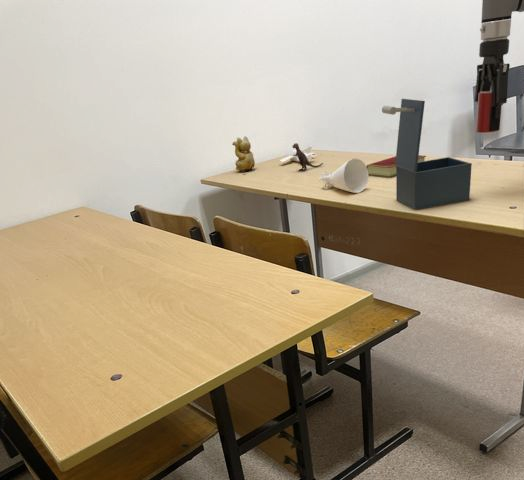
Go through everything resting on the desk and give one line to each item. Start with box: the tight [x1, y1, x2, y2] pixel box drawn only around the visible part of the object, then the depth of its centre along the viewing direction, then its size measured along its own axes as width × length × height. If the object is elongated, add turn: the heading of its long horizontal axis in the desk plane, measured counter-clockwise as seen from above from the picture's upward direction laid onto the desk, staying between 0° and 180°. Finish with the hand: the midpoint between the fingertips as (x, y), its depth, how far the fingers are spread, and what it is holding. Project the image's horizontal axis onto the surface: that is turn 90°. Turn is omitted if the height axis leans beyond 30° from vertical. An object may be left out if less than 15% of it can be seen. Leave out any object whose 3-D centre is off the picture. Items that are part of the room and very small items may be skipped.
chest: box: [395, 156, 473, 211], centre depth 163 cm, size 18×14×11 cm
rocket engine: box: [318, 157, 370, 194], centre depth 192 cm, size 12×12×18 cm
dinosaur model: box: [291, 142, 324, 172], centre depth 231 cm, size 4×12×15 cm
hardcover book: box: [366, 154, 427, 179], centre depth 208 cm, size 12×21×4 cm, turn 127°
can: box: [475, 89, 502, 134], centre depth 154 cm, size 6×6×11 cm
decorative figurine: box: [231, 135, 256, 173], centre depth 245 cm, size 10×8×15 cm
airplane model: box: [278, 146, 317, 163], centre depth 248 cm, size 20×20×8 cm
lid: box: [381, 98, 426, 171], centre depth 155 cm, size 19×14×8 cm
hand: (487, 129), depth 157 cm, fingers closed on can, 6 cm apart
